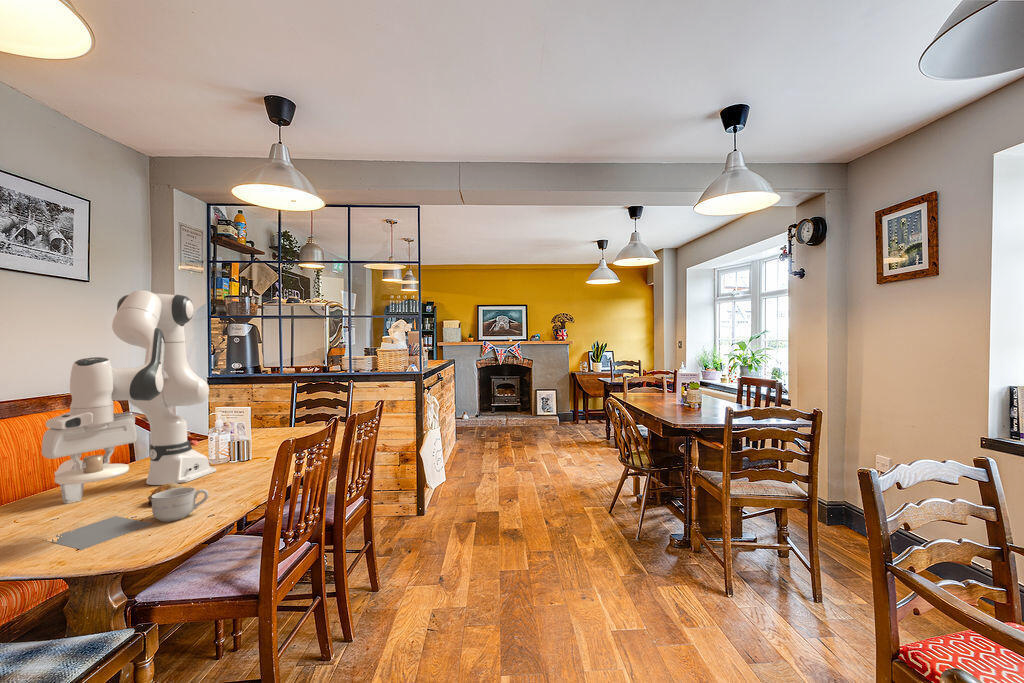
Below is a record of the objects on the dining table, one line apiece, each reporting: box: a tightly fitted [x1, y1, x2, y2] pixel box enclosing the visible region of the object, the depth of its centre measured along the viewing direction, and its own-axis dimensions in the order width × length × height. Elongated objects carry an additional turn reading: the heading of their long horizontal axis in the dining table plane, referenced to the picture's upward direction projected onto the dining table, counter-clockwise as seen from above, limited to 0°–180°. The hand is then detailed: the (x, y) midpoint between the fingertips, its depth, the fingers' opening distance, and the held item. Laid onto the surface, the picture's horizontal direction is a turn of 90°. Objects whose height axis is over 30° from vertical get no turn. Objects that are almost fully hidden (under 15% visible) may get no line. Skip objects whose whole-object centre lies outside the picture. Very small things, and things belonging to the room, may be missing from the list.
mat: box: [45, 515, 154, 551], centre depth 126 cm, size 17×17×1 cm
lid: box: [54, 454, 130, 485], centre depth 125 cm, size 15×15×5 cm
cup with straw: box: [54, 458, 85, 504], centre depth 150 cm, size 8×9×20 cm
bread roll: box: [147, 483, 185, 507], centre depth 149 cm, size 10×10×8 cm
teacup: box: [151, 486, 209, 523], centre depth 136 cm, size 14×11×8 cm
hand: (93, 466), depth 125 cm, fingers closed on lid, 4 cm apart
